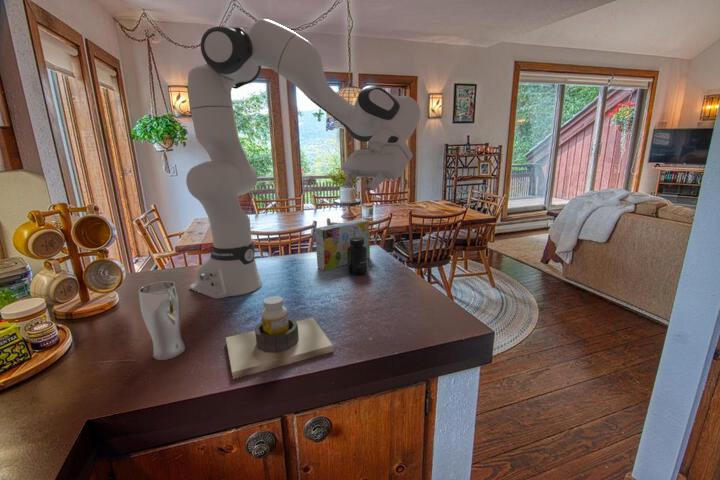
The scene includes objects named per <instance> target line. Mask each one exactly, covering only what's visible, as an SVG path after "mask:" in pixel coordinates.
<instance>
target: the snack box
mask: <svg viewBox="0 0 720 480" xmlns="http://www.w3.org/2000/svg"><path fill="white" fill-rule="evenodd" d="M369 223H370V222H369V220H367V219H361V218H360V219H355V220H354V219H353V220H350V221H345V222H344V221H343V222H340V223H335V224H330V225H323V226H319V227H315V228H314V238H315V249H316V251H315V252H316V261H317V262H316V263H317V265H316V266H317V268H318V267H319V268H318V269H320V268H321V270H322V269H323V271H324V272H326V270H327V271H330V270H332V268H333V269H337V268H339V266H340V267H344V266H347V265H348V261H347V249H348V247H349V246H351V245H350V239H351V238H355V237H360V238H364V246H365V247H366V248H367V258H368V259H370V258H371V251H370V247H371V246H370V226H369V225H370V224H369ZM346 264H347V265H346ZM343 265H344V266H343ZM336 267H337V268H336ZM329 269H330V270H329Z"/></svg>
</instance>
